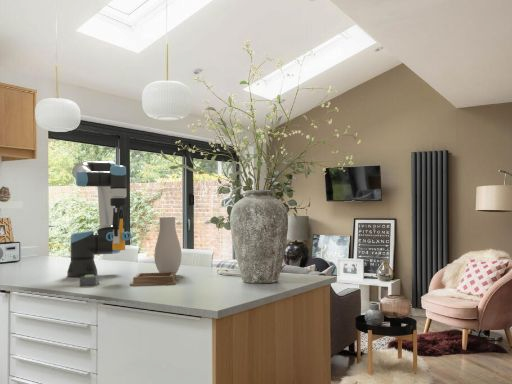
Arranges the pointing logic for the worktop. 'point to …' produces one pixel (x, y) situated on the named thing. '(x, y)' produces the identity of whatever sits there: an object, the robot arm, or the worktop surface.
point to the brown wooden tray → (154, 279)
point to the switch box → (89, 281)
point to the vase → (167, 247)
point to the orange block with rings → (121, 238)
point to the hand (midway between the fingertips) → (118, 242)
